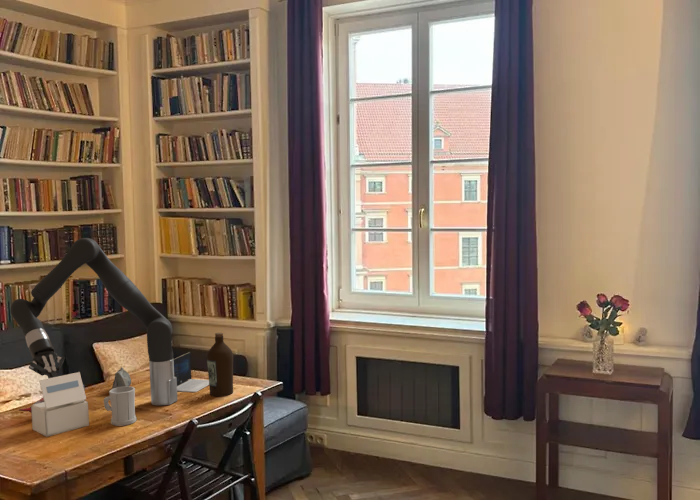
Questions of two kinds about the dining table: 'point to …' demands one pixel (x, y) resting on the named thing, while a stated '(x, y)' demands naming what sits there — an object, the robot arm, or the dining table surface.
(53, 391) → the flap
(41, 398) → the decorative bird figurine
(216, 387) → the brown bottle
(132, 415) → the cup
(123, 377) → the mineral rock
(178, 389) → the laptop
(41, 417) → the carton
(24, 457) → the dining table surface
